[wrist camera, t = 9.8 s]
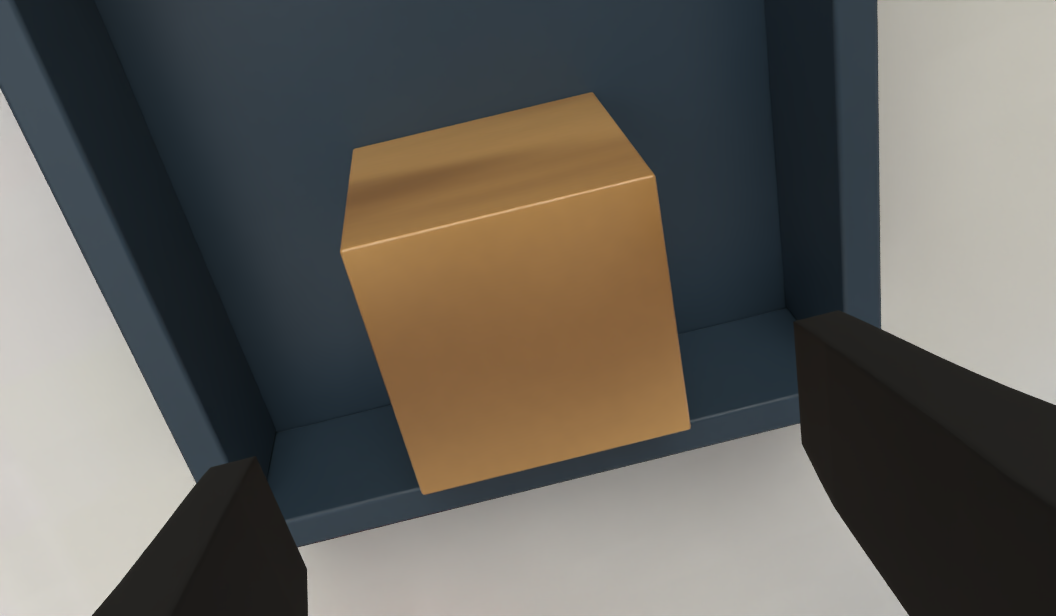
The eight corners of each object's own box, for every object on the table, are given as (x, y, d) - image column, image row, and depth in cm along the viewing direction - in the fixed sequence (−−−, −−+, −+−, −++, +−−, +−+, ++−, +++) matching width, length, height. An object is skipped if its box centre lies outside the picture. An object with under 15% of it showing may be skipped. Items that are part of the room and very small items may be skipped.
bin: (808, 315, 20) (883, 404, 17) (259, 450, 20) (234, 564, 17) (760, -536, 13) (873, -649, 10) (-90, -343, 13) (-244, -397, 10)
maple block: (629, 302, 19) (691, 429, 15) (415, 354, 19) (422, 496, 15) (592, 90, 16) (656, 174, 12) (351, 148, 16) (338, 250, 12)
